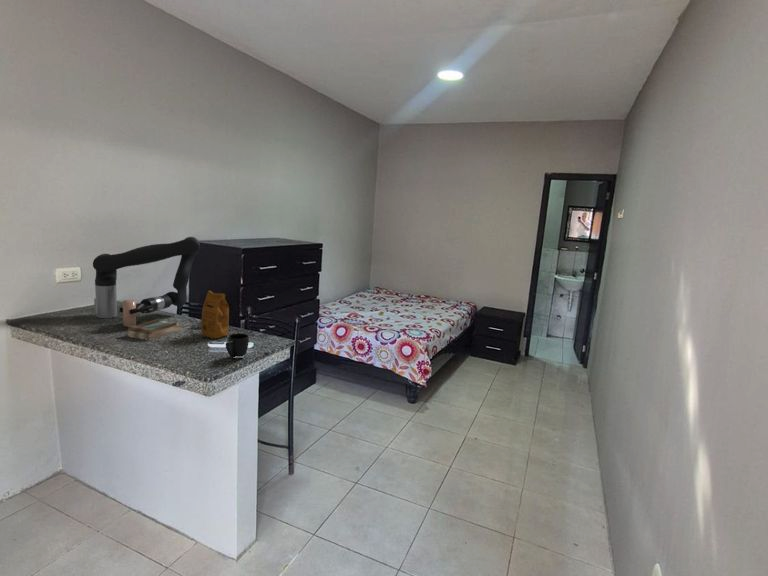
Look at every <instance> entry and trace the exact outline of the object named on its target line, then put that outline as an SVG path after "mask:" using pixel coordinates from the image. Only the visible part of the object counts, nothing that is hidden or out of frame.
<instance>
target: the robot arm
mask: <svg viewBox="0 0 768 576" xmlns="http://www.w3.org/2000/svg"><path fill="white" fill-rule="evenodd" d="M200 249H201V244H200V241H199V239H197V237H194V236H188V237H185V238H184V239H182V240H178V241H174V242H170V243H155V244H149V245H144V246H140V247H136V248H133V249H131V250H128V251H125V252H121V253H120V252H119V253H114V254H110V253H101V254H99V255H98V256H96V257H95V258H94V259H93V260H92V267H93V269H94V270H95V279H94V287H95V288H94V291H95V292H94V293H95V298H94V299H93V301H94V317H96V318H97V317H98V319H113V318H117V316H118V312H119V313H123V306H122V307H119V311H118V307H117V306H118V303H117V302H118V301H117V278H118V277H117V276H118V275H117V274H118V270H120V269H122V268H127V267H132V266H133V267H134V266H140V265H147V264H152V263H156V262H159V261H164V260H167V259H170V258H174V257H178V256H179V257H181V258H180V259H179V260H180V261H179V264H178V267H177V270H176V273H175V275H174V278H173V279H174V280H173V284H172V287H173V288H174V289H176V291H168V292H166V293H165V294H163V295H159V296H153V297H152V296H151V297H148V298H143V299H141V301H140V302H136V308H135V309H131V310H130V311H129V312H130V314H134V313H136V314H140V313H141V314H151V313H154V312H158V311H160V310H164V309H168V308H170V307H171V306H175V307H179V308H181V307H183V306H184V305H185V304H186V303H187V300H188V299H187V297H188V296H187V290H188V288H187V287H188V283H189V279H190V276H191V271H192V265H193V261H194V260H195V257H196V255H197V253H198V252H199V251H200ZM112 317H113V318H112Z"/></svg>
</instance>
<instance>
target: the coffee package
mask: <svg viewBox="0 0 768 576" xmlns="http://www.w3.org/2000/svg"><path fill="white" fill-rule="evenodd" d="M226 296H227V295H226V294H225V293H216V292H215V293H214V292H213V291H211V290H208V291H207V293H206V297H205V299H204V303H203V306H202V310H203V311H202V310H201V312H202V313H201V319H200V320H201V321H200V324H201V336H204V335H205V336H206V337H207V338H208V337H210V338H209V339H214V338H215V340H217V339H216V338H218V339H219V338H221V337H225V336H229V322H230V321H229V318H230V314H229V313H230V306H229V304H228V302H227V300H226V298H225V297H226Z"/></svg>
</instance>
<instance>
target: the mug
mask: <svg viewBox="0 0 768 576" xmlns="http://www.w3.org/2000/svg"><path fill="white" fill-rule="evenodd" d="M249 339H250V337H249V335H248V334H246V333H242V332H241V333H240V332H239V333H232V334H228V341H226V342H225V349H226V351H227V353H228V355H229V357H230V358H231V357H232V358H233V357H235V356H243V355H245V354H247V351H248V348H249ZM245 356H246V355H245ZM232 358H231V359H232Z"/></svg>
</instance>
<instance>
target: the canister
mask: <svg viewBox="0 0 768 576" xmlns="http://www.w3.org/2000/svg"><path fill="white" fill-rule="evenodd" d="M136 303H137V300H134V299H125V300H122V307H123V312H122V326H123V327H128V326H130V325H131V326H135V325H137V313H134V314H130V312H129V311H130V310H131V309H135V308H136Z"/></svg>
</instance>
